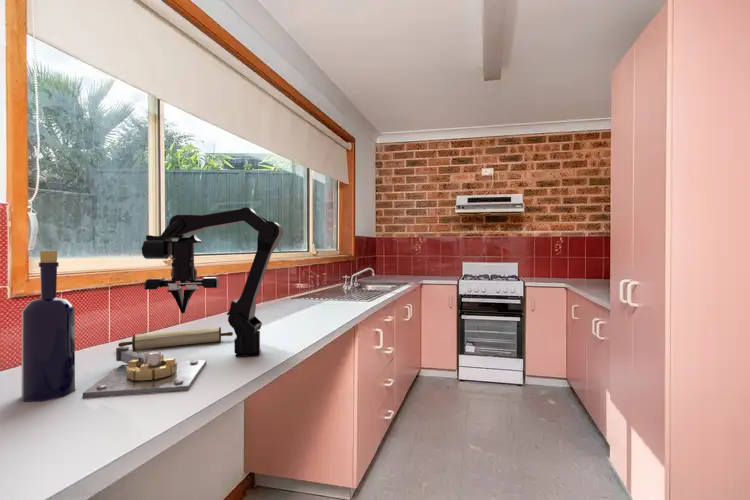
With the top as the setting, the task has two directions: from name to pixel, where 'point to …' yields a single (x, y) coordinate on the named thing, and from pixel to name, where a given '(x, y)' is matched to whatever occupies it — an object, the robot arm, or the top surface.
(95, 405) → the top surface
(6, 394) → the top surface
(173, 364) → the lever handle
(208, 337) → the rolling pin
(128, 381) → the flange plate
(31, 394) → the bottle
